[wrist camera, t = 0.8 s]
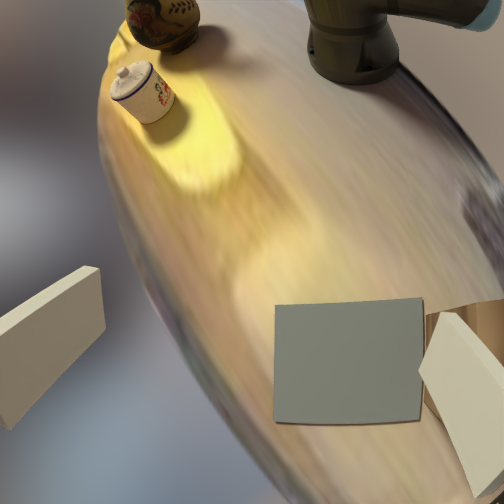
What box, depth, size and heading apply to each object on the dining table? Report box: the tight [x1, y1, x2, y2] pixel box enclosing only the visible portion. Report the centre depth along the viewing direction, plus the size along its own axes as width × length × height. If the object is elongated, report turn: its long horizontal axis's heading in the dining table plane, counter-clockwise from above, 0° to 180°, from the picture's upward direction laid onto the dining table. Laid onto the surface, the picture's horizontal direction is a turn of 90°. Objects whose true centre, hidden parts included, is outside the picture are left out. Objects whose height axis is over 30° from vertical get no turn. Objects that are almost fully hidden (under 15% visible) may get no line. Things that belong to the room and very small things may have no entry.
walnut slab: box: [424, 299, 504, 422], centre depth 21 cm, size 5×10×16 cm, turn 179°
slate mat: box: [273, 297, 423, 424], centre depth 32 cm, size 17×14×1 cm
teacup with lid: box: [110, 61, 175, 124], centre depth 48 cm, size 12×9×12 cm
